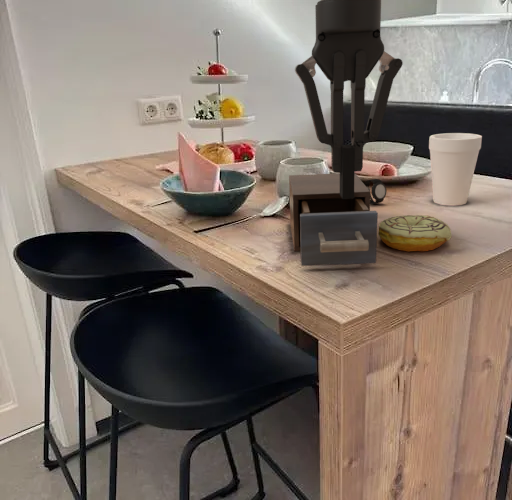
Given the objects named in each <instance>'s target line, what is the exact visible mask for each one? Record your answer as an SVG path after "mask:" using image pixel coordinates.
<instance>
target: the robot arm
mask: <svg viewBox="0 0 512 500" xmlns="http://www.w3.org/2000/svg"><path fill="white" fill-rule="evenodd" d="M314 9H315V42H314V45H313V47H312V50H311V55H310V56H309V57H308V58H306V59H305V60H304V61H302V62H301V63H298V64H297V65H295V67H294V72H295V74H296V75H297V77H298V79H299V80H300V81H301V83H302V85H303V88H304V92H305V97H306V100H307V104H308V108H309V112H310V115H311V120H312V123H313V128H314V131H315V134H316V135H315V136H316V138H317V140H318V141H319V142H320V143H321V144H325V145H328V146H330V150H331V152H330V153H331V159H330V160H331V169H332V171H333V173H340V196H341V197H342V199H354V173H355V172H356V173H357V172H362V170H363V167H364V147H365V146H366V144H368V143H370V142H373V141H376V140H377V139H379V136H380V132H381V128H382V124H383V120H384V117H385V114H386V109H387V105H388V101H389V97H390V94H391V91H392V87H393V82H394V79H395V78H396V77H397V74H398V73H399V72H400V70H401V68H402V67H403V64H404V63H403V60H402V59H401V58H399V57H398V58H395V57H394V56H392V55H391V54H390V53H388V52H386V51H385V45H384V43H383V41H382V38H381V26H382V25H381V24H382V23H381V20H382V15H381V14H382V0H319V1H317V2H316V4H315V8H314ZM378 62H379V65H378V71H379V72H380V75H379V76H378V77H379V78H378V80H377V84H376V88H375V92H374V96H373V100H372V104H371V108H370V112H369V116H368V119H367V124H366V127H365V100H366V99H365V95H366V94H365V93H366V85H367V84H366V81H367V78H368V77H369V76H370V74H371V73H372V72H373V70H374V68H375V67H376V65H377V64H378ZM316 65H317V66H318V68H319V69H320V71H321V72H322V73H323V75H324V76H325V77H326V79H327V80H328V81H329V88H330V133H329V132H328V130H327V126H326V121H325V118H324V114H323V110H322V106H321V101H320V98H319V94H318V89H317V85H316V83H315V79H314V77H315V76H316V74H317V70H316ZM345 82H350V142H351V144H344V92H345V91H344V90H345Z"/></svg>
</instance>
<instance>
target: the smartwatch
mask: <svg viewBox="0 0 512 500" xmlns="http://www.w3.org/2000/svg"><path fill="white" fill-rule="evenodd" d="M363 183H364V185H365V186H366V187H367V188H368V190H369V191H370V205H376V204H380V203H382V202H384V199H385V198H386V196H387V190H388V189H387V186H386V185H385V184H384V183H383V182H382V180H381V179H379V178H372V179H367V180H366V181H365V182H363ZM371 183H373V185H372V186H371V188H370V185H371Z"/></svg>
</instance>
